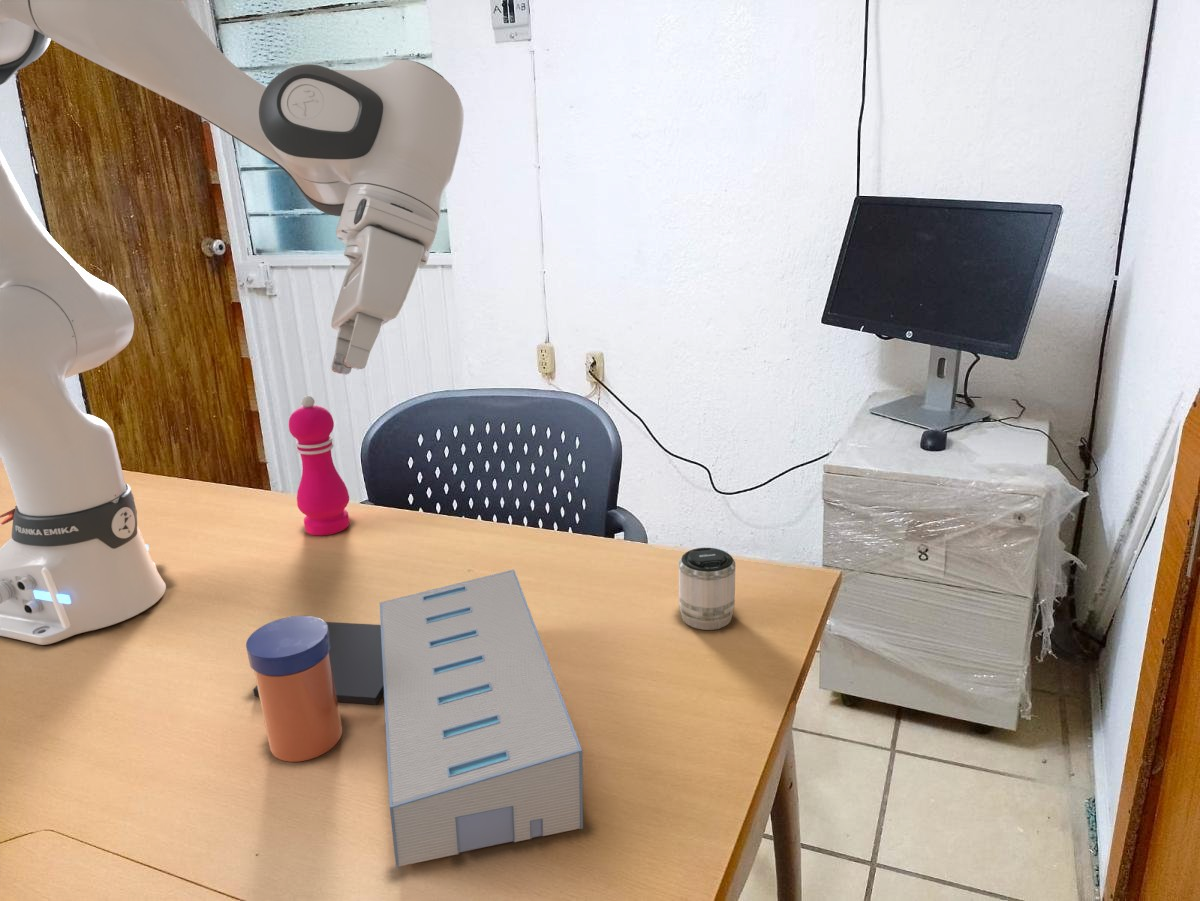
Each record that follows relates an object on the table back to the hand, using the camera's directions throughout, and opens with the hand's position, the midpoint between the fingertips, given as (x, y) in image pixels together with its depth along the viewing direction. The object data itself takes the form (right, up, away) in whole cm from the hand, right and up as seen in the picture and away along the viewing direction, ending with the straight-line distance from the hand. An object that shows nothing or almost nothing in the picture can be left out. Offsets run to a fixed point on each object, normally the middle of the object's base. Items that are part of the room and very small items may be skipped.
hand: (346, 370), depth 79 cm
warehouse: (+12, -33, -1) cm, 35 cm away
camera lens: (+36, -27, +16) cm, 48 cm away
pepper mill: (-16, -19, +43) cm, 50 cm away
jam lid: (-3, -24, -5) cm, 25 cm away
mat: (-3, -30, +10) cm, 32 cm away
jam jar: (-3, -34, -2) cm, 34 cm away
